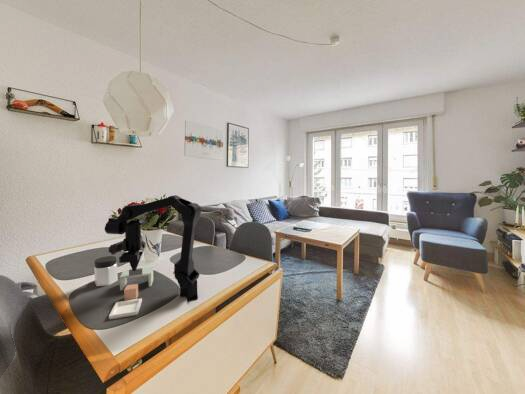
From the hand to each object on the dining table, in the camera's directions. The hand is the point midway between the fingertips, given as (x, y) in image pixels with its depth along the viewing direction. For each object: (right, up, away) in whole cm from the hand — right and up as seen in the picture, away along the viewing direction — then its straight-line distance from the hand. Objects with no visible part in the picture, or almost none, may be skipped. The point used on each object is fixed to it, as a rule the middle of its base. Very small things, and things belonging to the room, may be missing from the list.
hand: (134, 270), depth 92 cm
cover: (-2, -8, +6) cm, 10 cm away
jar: (-18, -9, +8) cm, 21 cm away
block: (+2, -10, -5) cm, 11 cm away
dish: (+5, -10, -13) cm, 17 cm away
